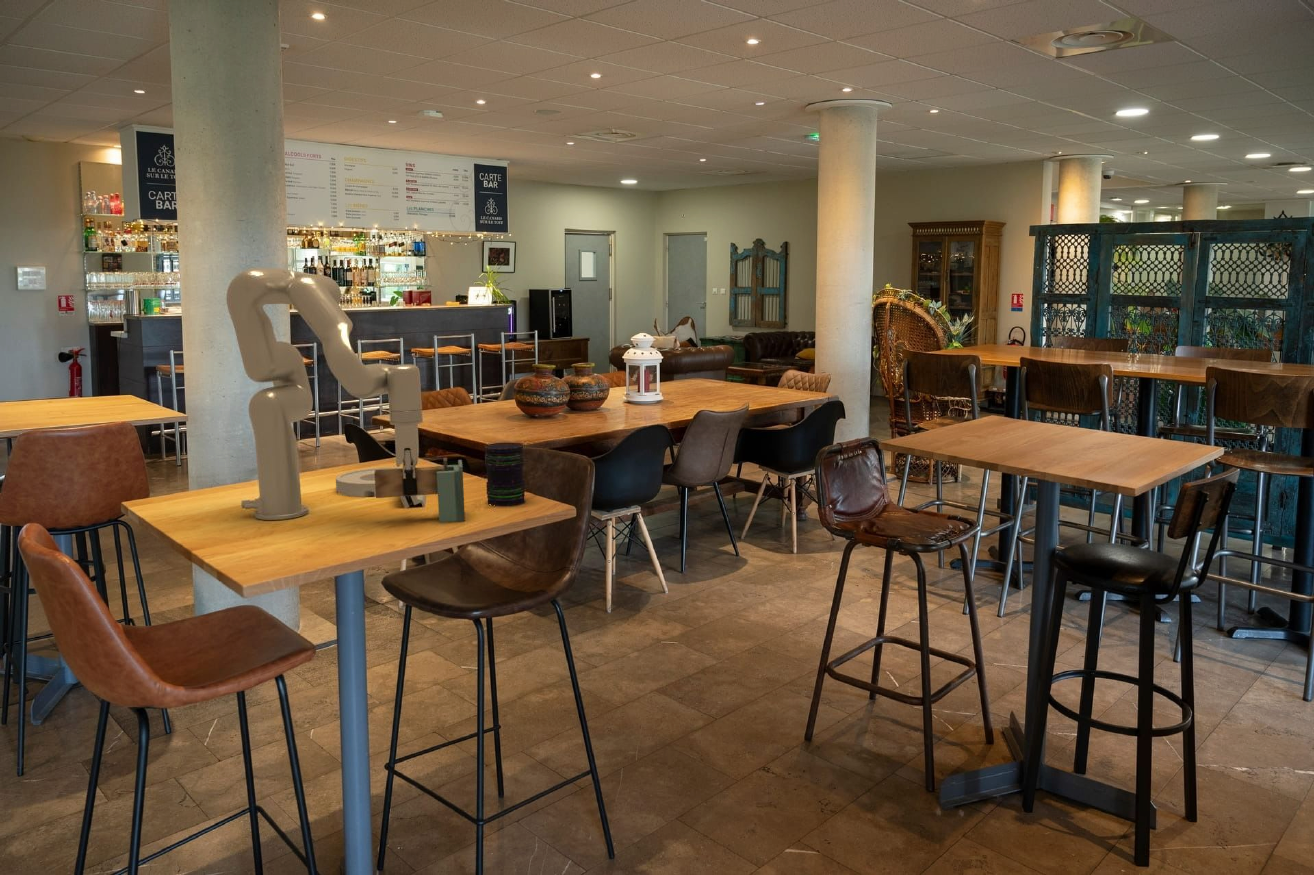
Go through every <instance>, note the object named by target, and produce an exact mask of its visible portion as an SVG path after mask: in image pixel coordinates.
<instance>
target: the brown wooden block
mask: <svg viewBox="0 0 1314 875" xmlns="http://www.w3.org/2000/svg"><path fill="white" fill-rule="evenodd" d="M447 465H448V457H443V465H436V466H421V467H420V466H419V467H416V468H415V478H417V495H426V496H431V495H438V488H437V471H448V470H447ZM405 469H406V468H405ZM411 469H413V468H411ZM374 475H375V489H376V497H375V498H376V499H382V498H383V499H384V498H400V497H401V496H417V495H404V493H403V469H386V470H375V473H374Z"/></svg>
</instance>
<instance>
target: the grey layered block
mask: <svg viewBox="0 0 1314 875" xmlns="http://www.w3.org/2000/svg"><path fill="white" fill-rule="evenodd" d="M399 498H400V500H401V502H402V505H403V507H404V509H408V508H409V509H410V506H412V505H413V506H416V505H418V504H421V505H422V507H423V508H426V502H427V495H417V496H401V497H399Z"/></svg>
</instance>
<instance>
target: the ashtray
mask: <svg viewBox="0 0 1314 875" xmlns="http://www.w3.org/2000/svg"><path fill="white" fill-rule="evenodd" d="M386 469H403V467H392V466H391V467H374V468H373V467H372V468H365V469H357V470H353V471H352V470H351V471H347V472H345V473H344V472H343V473H341V474H339V475H337V476H336V477H335V488H336V489H335V490H336V493H337V492H338V493H340V494H339V495H341V494H342V495H341V496H345V495H348V496H347V497H352V496H354V498H355V497H356V498H366V497H372V496H373V497H375V498H376V489H375V475H374V473H375V470H386ZM338 493H337V494H338Z"/></svg>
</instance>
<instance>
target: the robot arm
mask: <svg viewBox="0 0 1314 875" xmlns="http://www.w3.org/2000/svg"><path fill="white" fill-rule="evenodd" d="M225 300H226V305H227V309H228V313H229V317H230V319H231V323H232V325H233V329H234V331H235V332H234V333H235V335H236V341H237V345H238V348H239V352H240V356H241V357H240V358H241V360H242V364H243V367H244V371H245V373H246V375H247V377H248V378H249V379H250V380H251V381H253V382H257V383H263V384H264V383H270V382H272V385H273V386H270V387H266V388H262V389H261V390H259V391H257V392H256V393H255V394H253V396H252V397H251V399H250V400H249V404H248V415H249V419H250V422H251V426H252V430H253V435H254V436H253V437H254V444H255V454H256V463H257V464H256V466H257V478H258V481H257V482H258V492H259V497H258V498H255V499H254V500H249V499H247V500H241V509H245V510H252V509H254V510H255V511H254V513H253V516H254V518H255V519H258V520H264V521H280V520H289V519H290V520H291V519H295V518H299V517H303V516H306V515H307V514H308V513H309V512H310V511H309V510H310V509H309V506H307V505H303V504H302V491H301V476H300V467H299V466H300V464H299V451H298V442H297V436H296V433H295V431H294V429H293V425H292V423H295V422H296V423H297V422H299V421H302V420H304V419H306V418H307V417H309V415H310V414H311V412H312V410H313V407H314V406H313V404H314V402H313V401H314V400H313V394H312V390H311V386H310V382H309V381H310V380H309V377H308V374H307V368H306V365H305V361H304V359H303V355H302V354H301V352H300V351H299V349H298V348H297V347H296V346H294V345H293V344H292V343H289V342H287V341H277V338H276V335H275V332H274V326H273V323H272V321H271V318H270V316H269V315H268V314H267V313H266V311H265V310H264V306H265V305H282V304H283V305H291V306H293V307H294V309H295V310H296V311H297V313H298V314H299V315H300V317H301V318H302V319H303V320H304V321H305V323H306V324H307V325H308V327H309V328H310V329H311V330H312V332H313V334H315V336H316V337H317V338H318V339H319V341H320V342H321V344H322V350H323V354H324V358H325V360H326V363H327V366H328V368H329V370H330V372H331V373H332V375H333V376H334V378H335V379H336V381H337V382H338V383H339V384H340V385H341V387H343V389H344V390H345V391H346V392H347V393H348V394H350V395H351V396H352V397H355V398H357V399H369V398H372V397H376V396H377V397H378V396H382V395H386V394H387V395H388V396H387V397H388V398H387V399H388V412H389V425H391V426H394V444H395V446H394V447H395V462H396V464H395V465H396V466H397V468H400V466H402V468H403V493H404V495H417V478H415V468H417V467H416V466H417V465H418V462H419V454H420V453H419V452H420V450H419V449H420V448H419V445H420V444H419V442H420V441H419V425H420V424H422V423H423V422H424V421H423V420H424V419H423V418H424V417H423V406H422V405H423V403H422V387H421V384H422V383H421V371H420V369H419V367H418V366H417V365H415V364H407V363H406V364H395V365H394V364H388V363H373V364H364V363H363V361H362V360H361V359H360V358H359V357H358V355H357V354H356V353H355V351H354V350H353V347H352V346H351V343H350V334H351V332H352V330H353V327H354V326H353V324H354V323H353V322H352V320H351V319H350V317H349V316H348V315H347V313H345V311H344V310H343V308H342V307H341V306H340V305H339V304H340V302H341V300H342V291H341V288H340V286H339V285H338V283H337V282H336V280H334V279H333V278H331V277H329V276H326V275H322V274H315V273H307V272H302V271H297V270H291V269H286V268H285V269H284V268H250V269H246V270H243V271H241V272H239V273H238V274H237V275H235V276H234V277H233V279H232V280H231V281H230V282H229V285H228V287H227V290H226V299H225ZM418 424H419V425H418ZM405 468H406V469H405ZM411 468H413V469H411Z"/></svg>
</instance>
